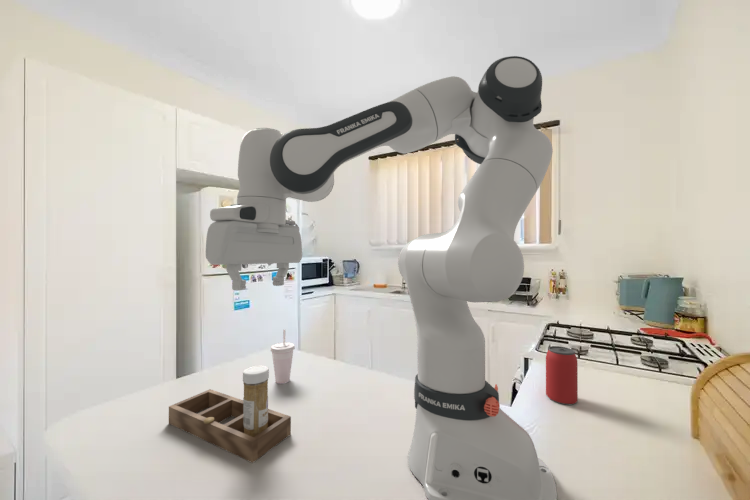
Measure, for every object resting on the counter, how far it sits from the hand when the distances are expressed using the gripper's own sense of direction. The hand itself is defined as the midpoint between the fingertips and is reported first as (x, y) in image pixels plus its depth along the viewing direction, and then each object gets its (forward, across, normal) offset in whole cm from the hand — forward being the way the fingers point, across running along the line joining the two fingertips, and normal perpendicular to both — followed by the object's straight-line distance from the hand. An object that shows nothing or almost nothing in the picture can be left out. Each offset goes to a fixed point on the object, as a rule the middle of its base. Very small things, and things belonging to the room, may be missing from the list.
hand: (260, 287), depth 58 cm
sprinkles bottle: (+29, 0, 0) cm, 29 cm away
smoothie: (+29, -22, -14) cm, 39 cm away
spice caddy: (+29, 0, -8) cm, 30 cm away
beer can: (+28, -45, +53) cm, 75 cm away
